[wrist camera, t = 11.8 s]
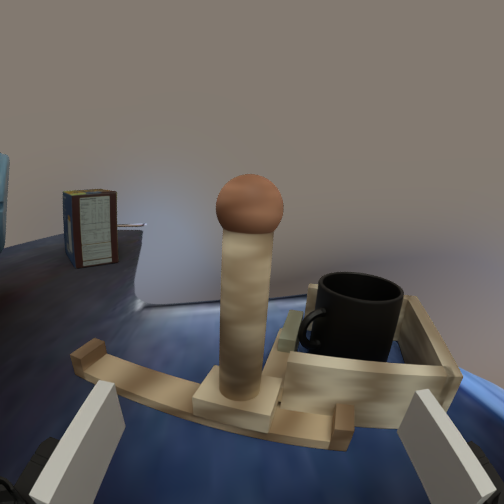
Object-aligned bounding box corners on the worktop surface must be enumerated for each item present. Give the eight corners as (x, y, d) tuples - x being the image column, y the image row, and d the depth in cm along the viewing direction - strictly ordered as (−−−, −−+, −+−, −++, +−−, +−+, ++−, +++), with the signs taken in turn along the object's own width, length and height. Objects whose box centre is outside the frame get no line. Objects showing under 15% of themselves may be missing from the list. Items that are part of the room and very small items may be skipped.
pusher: (194, 422, 22) (190, 171, 17) (248, 334, 37) (258, 175, 33) (270, 441, 20) (301, 177, 16) (299, 342, 36) (317, 179, 31)
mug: (274, 349, 35) (281, 276, 33) (353, 332, 39) (365, 269, 37) (315, 396, 26) (332, 312, 24) (401, 366, 31) (421, 294, 29)
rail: (75, 374, 25) (70, 354, 25) (98, 357, 29) (94, 337, 29) (345, 451, 19) (354, 430, 19) (347, 419, 23) (354, 398, 22)
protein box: (101, 248, 74) (100, 188, 70) (119, 262, 63) (117, 191, 59) (64, 253, 67) (62, 191, 63) (74, 269, 56) (70, 194, 52)
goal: (278, 416, 24) (287, 361, 22) (303, 324, 41) (309, 283, 40) (437, 428, 20) (463, 376, 19) (406, 336, 38) (416, 296, 36)
